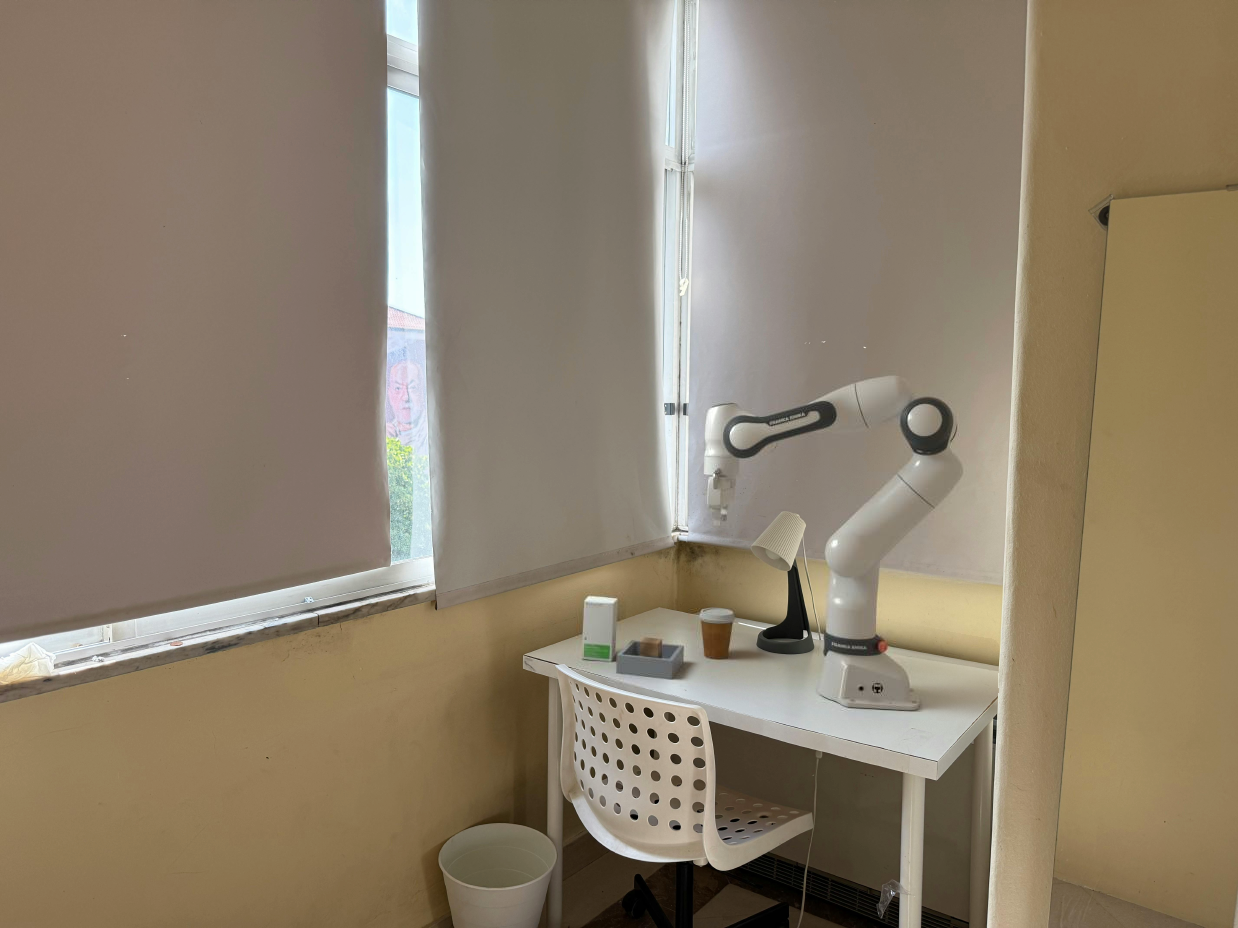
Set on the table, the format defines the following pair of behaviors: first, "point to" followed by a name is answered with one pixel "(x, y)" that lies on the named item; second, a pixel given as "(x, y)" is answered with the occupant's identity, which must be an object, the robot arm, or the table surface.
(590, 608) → the skincare box
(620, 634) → the table surface
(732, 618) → the disposable coffee cup
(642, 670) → the tray
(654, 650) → the walnut block
